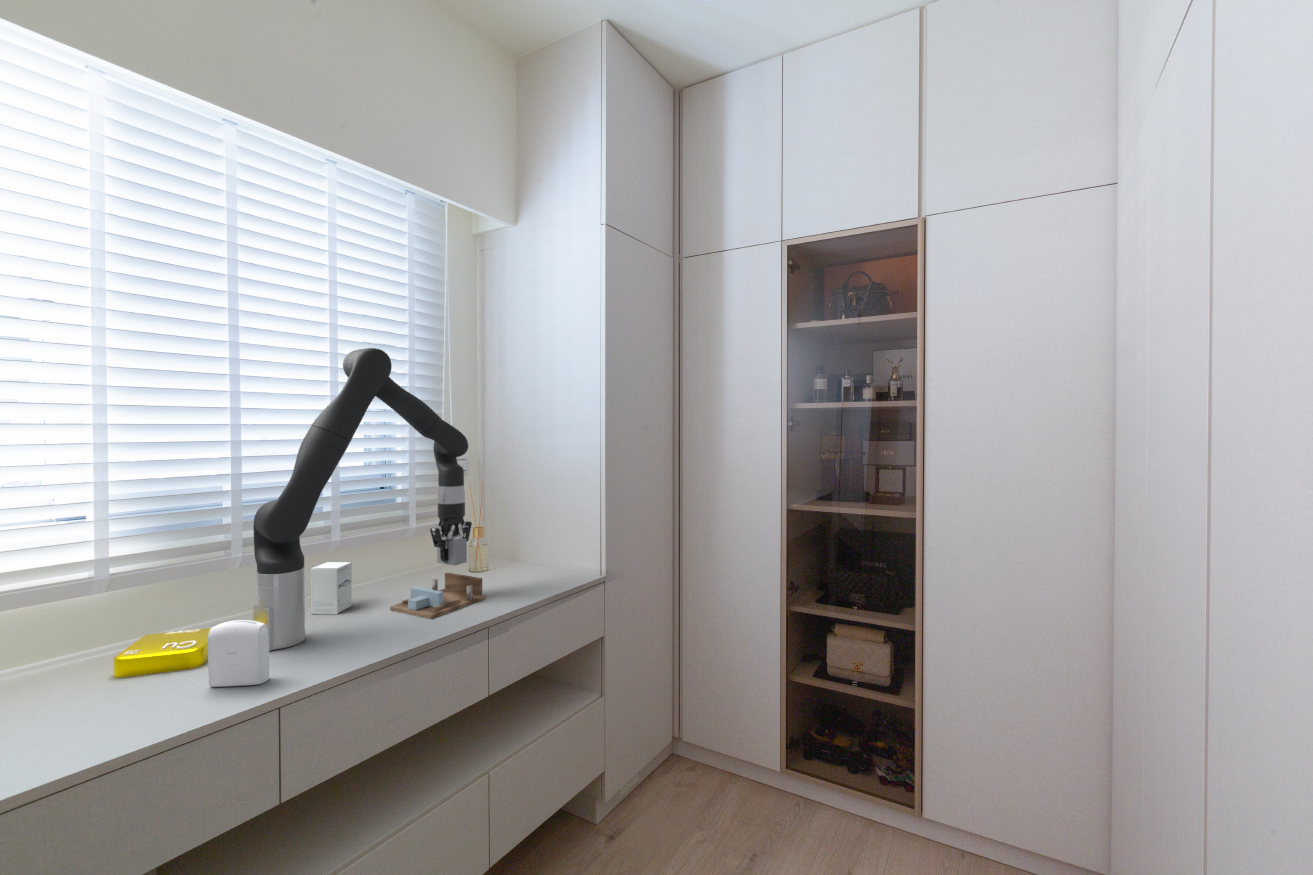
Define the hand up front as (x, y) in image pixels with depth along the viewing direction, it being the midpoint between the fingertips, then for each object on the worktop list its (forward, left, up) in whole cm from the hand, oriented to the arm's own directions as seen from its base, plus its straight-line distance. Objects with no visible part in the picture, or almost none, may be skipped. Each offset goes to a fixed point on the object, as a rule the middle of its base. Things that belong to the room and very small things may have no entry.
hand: (451, 558), depth 165 cm
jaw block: (0, 0, -1) cm, 1 cm away
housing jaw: (-11, 0, -11) cm, 15 cm away
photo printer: (-58, -4, -12) cm, 59 cm away
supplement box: (-22, +22, -12) cm, 33 cm away
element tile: (-58, +22, -13) cm, 64 cm away
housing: (-4, 0, -12) cm, 13 cm away
